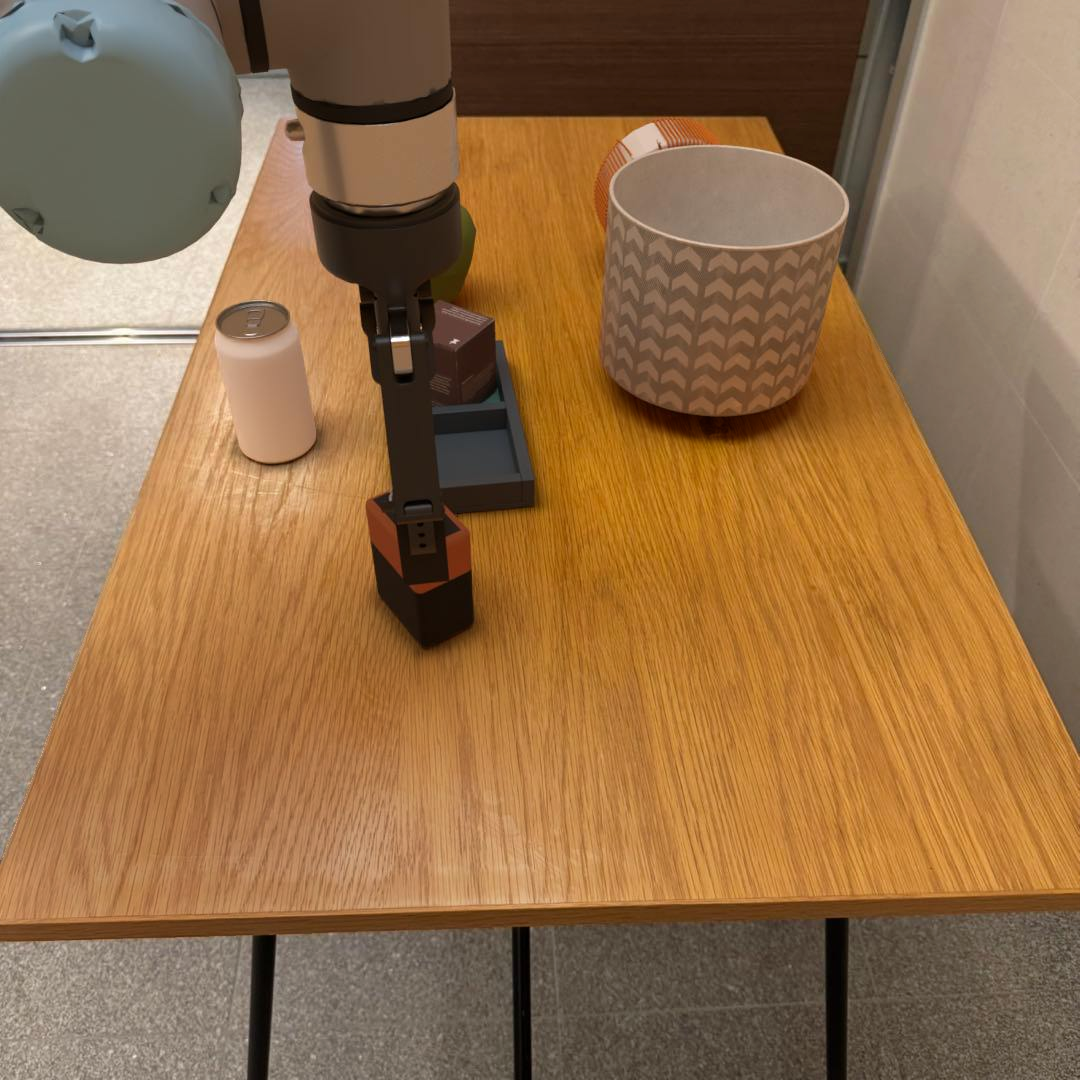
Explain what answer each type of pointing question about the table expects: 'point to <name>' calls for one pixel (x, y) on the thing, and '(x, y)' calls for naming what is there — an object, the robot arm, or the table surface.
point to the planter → (717, 276)
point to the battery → (422, 606)
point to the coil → (646, 151)
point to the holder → (484, 450)
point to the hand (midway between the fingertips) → (418, 504)
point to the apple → (456, 265)
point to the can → (265, 381)
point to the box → (462, 356)
